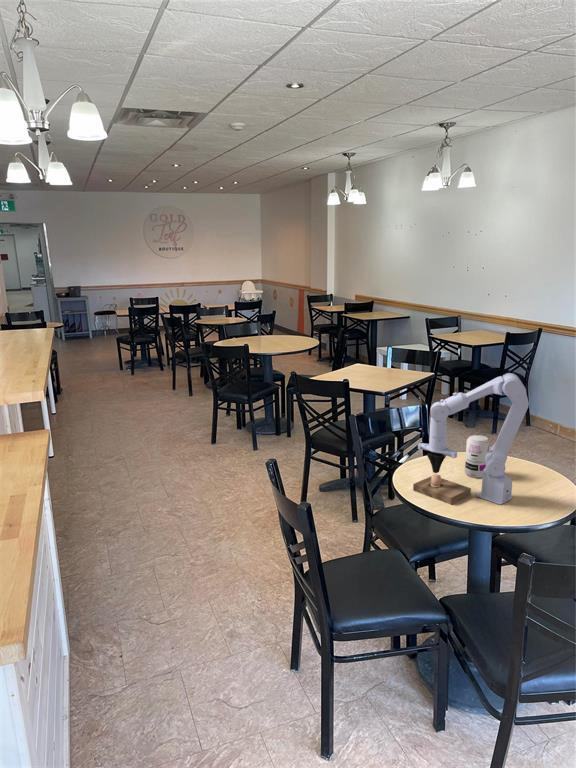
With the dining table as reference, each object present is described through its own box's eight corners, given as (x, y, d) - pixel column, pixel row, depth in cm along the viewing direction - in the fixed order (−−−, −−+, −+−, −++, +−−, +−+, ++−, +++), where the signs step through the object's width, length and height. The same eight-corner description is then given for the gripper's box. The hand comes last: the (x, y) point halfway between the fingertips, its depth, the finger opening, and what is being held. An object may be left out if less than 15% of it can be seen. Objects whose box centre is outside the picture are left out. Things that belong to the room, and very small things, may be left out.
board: (470, 494, 196) (470, 488, 195) (451, 504, 188) (451, 497, 188) (432, 481, 208) (433, 475, 207) (413, 490, 200) (413, 483, 200)
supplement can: (483, 470, 217) (486, 434, 214) (489, 479, 209) (491, 441, 206) (462, 470, 218) (465, 434, 215) (467, 478, 210) (469, 441, 207)
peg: (441, 491, 199) (442, 475, 198) (437, 494, 197) (438, 478, 195) (433, 488, 201) (434, 473, 200) (428, 491, 199) (429, 476, 198)
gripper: (462, 437, 192) (460, 474, 195) (426, 429, 202) (424, 463, 205) (452, 442, 187) (449, 480, 190) (415, 433, 197) (413, 469, 200)
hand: (436, 472), depth 197 cm, fingers closed
